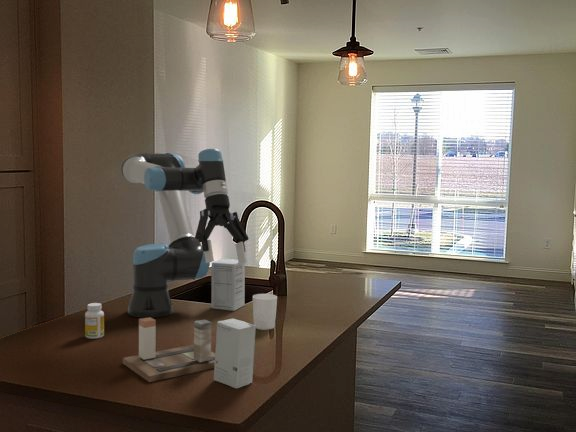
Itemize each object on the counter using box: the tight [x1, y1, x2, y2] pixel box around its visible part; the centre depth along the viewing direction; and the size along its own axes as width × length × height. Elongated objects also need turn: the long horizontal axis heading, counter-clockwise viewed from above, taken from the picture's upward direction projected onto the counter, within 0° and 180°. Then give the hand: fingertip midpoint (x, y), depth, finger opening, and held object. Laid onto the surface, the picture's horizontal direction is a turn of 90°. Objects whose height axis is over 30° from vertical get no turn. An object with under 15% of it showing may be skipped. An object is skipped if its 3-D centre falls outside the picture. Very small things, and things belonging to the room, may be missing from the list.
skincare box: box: [213, 317, 256, 389], centre depth 151 cm, size 8×6×15 cm
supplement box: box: [210, 258, 246, 312], centre depth 224 cm, size 10×9×17 cm
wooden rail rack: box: [122, 319, 215, 383], centre depth 163 cm, size 22×16×12 cm
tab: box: [138, 317, 157, 360], centre depth 162 cm, size 3×3×10 cm
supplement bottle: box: [84, 302, 105, 340], centre depth 185 cm, size 5×5×10 cm
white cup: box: [252, 293, 278, 331], centre depth 200 cm, size 8×8×10 cm
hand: (226, 262), depth 190 cm, fingers open, 13 cm apart
